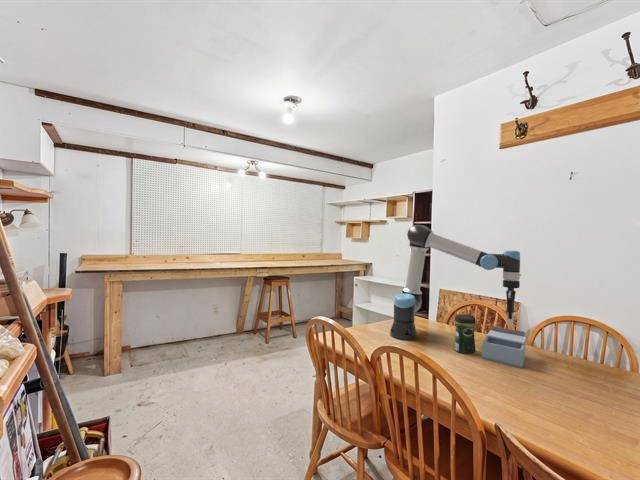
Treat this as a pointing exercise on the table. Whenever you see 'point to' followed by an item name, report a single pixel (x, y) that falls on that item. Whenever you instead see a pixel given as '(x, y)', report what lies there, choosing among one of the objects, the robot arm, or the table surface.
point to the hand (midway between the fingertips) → (510, 324)
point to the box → (503, 352)
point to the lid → (507, 334)
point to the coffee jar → (464, 333)
